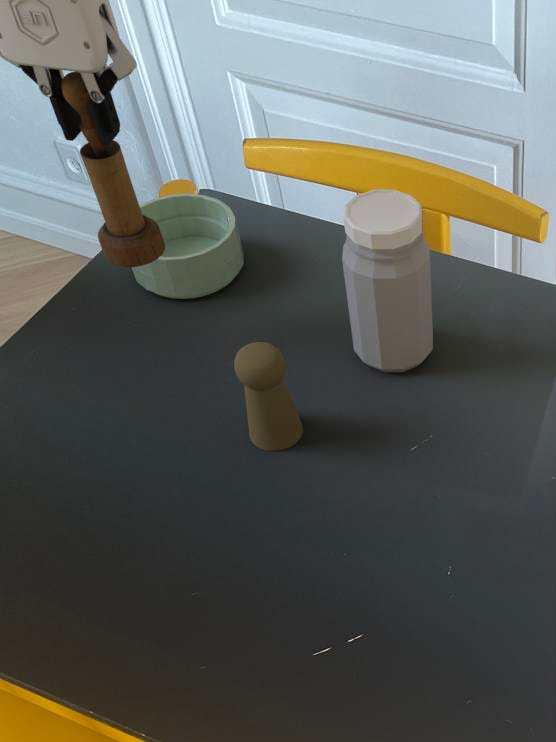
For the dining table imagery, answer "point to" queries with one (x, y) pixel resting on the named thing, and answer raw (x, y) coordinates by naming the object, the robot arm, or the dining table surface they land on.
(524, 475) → the dining table surface
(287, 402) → the board game pawn
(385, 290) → the jar
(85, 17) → the robot arm
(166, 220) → the bowl
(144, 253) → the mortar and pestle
